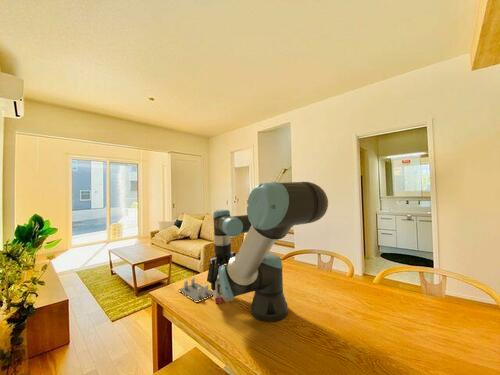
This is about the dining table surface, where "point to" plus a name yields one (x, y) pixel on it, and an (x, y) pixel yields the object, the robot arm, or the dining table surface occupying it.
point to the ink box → (221, 294)
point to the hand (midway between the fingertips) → (224, 292)
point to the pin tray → (196, 290)
